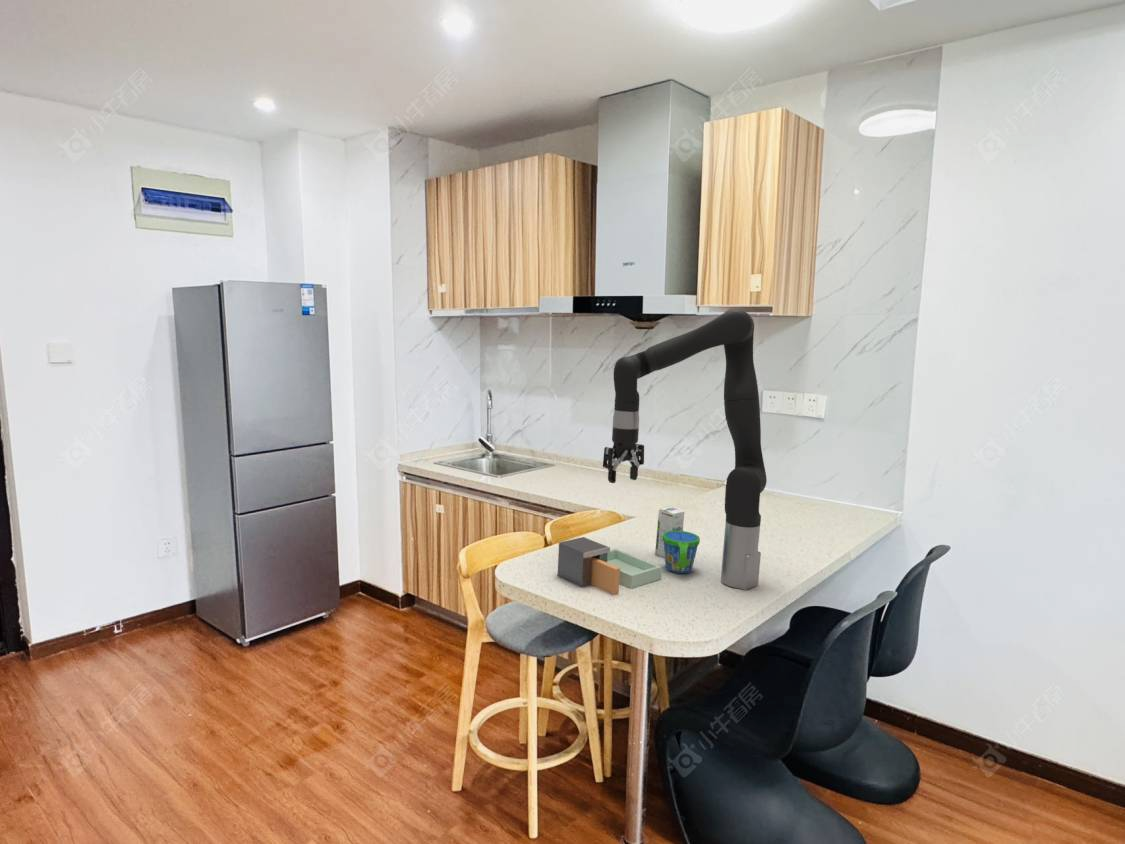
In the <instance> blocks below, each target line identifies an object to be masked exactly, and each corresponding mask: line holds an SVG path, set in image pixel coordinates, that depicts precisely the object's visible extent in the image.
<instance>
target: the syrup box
mask: <svg viewBox="0 0 1125 844" xmlns="http://www.w3.org/2000/svg"><path fill="white" fill-rule="evenodd" d="M685 512H686V511H684V510H682V509H680V508H677V507H674V506H673V507H672V506H668V507H665V508H661V509H658V515H657V518H658V519H657V529H656V539H655V552H654V554H655V555H656V556H659V557H662V558H665V552H664V541H663V534H664V533H665V532H667V531H684V523H685Z"/></svg>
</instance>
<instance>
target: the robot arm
mask: <svg viewBox="0 0 1125 844" xmlns="http://www.w3.org/2000/svg"><path fill="white" fill-rule="evenodd" d="M754 332H755V323H754V319H753V318H752V316H751V315H750V314H749V313H748V312H746V311H745V310H743V309H740V308H730V309H728V310H726V311H725V312H723V313H722V314H720V315H718V316H717V317H715V318H714V319H712V320H710V321H708V322H707V323H706V324H703V325H702V326H699V327H697V328H695V329H693V330H690V331H688V332H685V333H683V334H680V335H676V336H675V337H672V338H669V339H667V340H663V341H661V342H659V343H656V344H654V345H652V346H650V347H648V348H647V349H645V350H643V351H640V352H637V353H635V354H632V355H629V356H622V357H620V358H619V359H618V360H617V361H616V362H615V364H614V367H613V385H614V393H615V395H614V410H613V411H614V412H613V416H612V433H611V441H612V442H613V445H612V447H608V446H605V447H604V448H603V460H602V467H603V468H605V469H607V472H608V473H607V480H608V482H609V484H610V483H611V484H615V483H616V480H617V479H616V478H617V468H618V467H619V465H621V464H622V462H627V461H628V462H629V464H630V469H629V479H630V480H632V481H636V480H637V479H638V476H639V467H640V466H641V465H642V466H643V465H644V463H645V445H644V444H642V443H638V442H639V430H640V428H639V427H640V414H639V413H640V394H639V391H638V380H639V379H642V378H643V377H645V376H647V375H650V374H651V373H654V372H657V371H660V370H661V371H662V370H664V369H667V368H668V367H671V366H673V365H676V364H679V363H681V362H683V361H684V360H687V359H689V358H691V357H693V356H695V355H697V354H699V353H701V352H703V351H705V350H709V349H712V348H716V347H719V346H723V349H724V355H725V372H724V373H725V374H724V383H723V384H724V385H723V405H724V415H725V416H724V417H725V421H726V425H727V428H728V430H729V434H730V436H731V439H732V442H733V447H734V469H732V470H731V471H730V472H729V473H728V474H727V475H728V476H727V477H726V482H725V493H724V513H725V523H724V534H723V535H724V538H723V547H722V549H723V550H722V559H721V572H720V582H721V584H723V585H725V586H727V587H731V588H734V589H741V590H744V591H746V590H749V589H752V588H755V587H757V586H758V585H759V579H760V567H761V558H762V557H761V555H762V553H761V551H759V542H760V531H761V522H762V516H761V513H760V499H761V493H762V492H763V491H764V490H765V488H766V486H767V472H766V468H765V461H764V457H763V452H762V442H761V441H762V440H761V439H762V436H761V433H762V430H761V429H762V428H761V427H762V426H761V407H760V394H759V386H758V380H757V379H758V378H757V375H756V369H755V364H754V363H755V362H754V337H755V336H754V335H755V334H754Z"/></svg>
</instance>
